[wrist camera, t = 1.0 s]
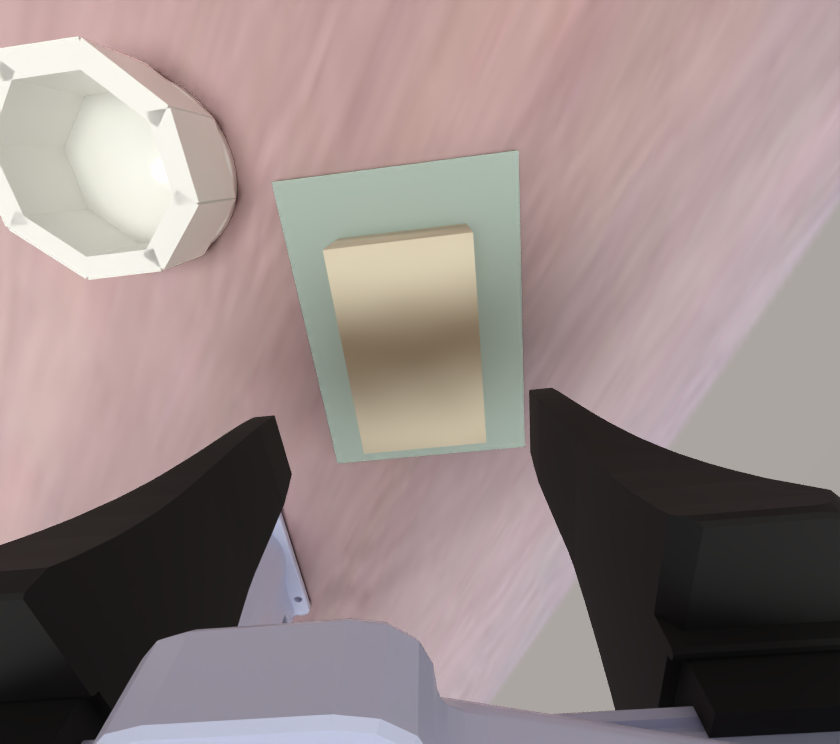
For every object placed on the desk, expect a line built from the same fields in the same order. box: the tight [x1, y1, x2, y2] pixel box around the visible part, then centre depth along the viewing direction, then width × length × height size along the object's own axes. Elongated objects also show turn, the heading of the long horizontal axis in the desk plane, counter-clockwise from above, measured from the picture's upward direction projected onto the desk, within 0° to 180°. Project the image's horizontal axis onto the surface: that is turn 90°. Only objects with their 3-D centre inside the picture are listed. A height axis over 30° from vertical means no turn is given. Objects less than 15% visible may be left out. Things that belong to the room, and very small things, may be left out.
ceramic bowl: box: [0, 36, 237, 280], centre depth 16 cm, size 7×7×4 cm
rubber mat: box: [272, 150, 525, 463], centre depth 21 cm, size 14×10×1 cm
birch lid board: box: [323, 223, 486, 454], centre depth 19 cm, size 9×6×3 cm, turn 7°
